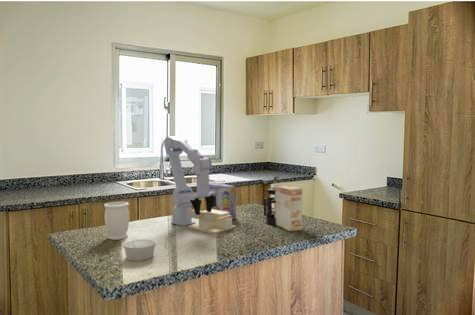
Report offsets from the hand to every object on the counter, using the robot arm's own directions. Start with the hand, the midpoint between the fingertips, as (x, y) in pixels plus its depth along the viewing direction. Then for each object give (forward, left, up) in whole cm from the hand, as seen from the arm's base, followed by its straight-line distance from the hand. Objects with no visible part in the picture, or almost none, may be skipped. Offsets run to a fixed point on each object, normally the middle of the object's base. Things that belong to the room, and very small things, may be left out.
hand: (203, 213), depth 182 cm
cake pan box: (-11, +25, -8) cm, 29 cm away
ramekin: (+8, -42, -8) cm, 44 cm away
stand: (0, +6, -8) cm, 10 cm away
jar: (-21, -32, -8) cm, 39 cm away
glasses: (0, +5, -3) cm, 6 cm away
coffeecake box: (+28, +29, -8) cm, 41 cm away
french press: (+18, +32, -8) cm, 37 cm away
